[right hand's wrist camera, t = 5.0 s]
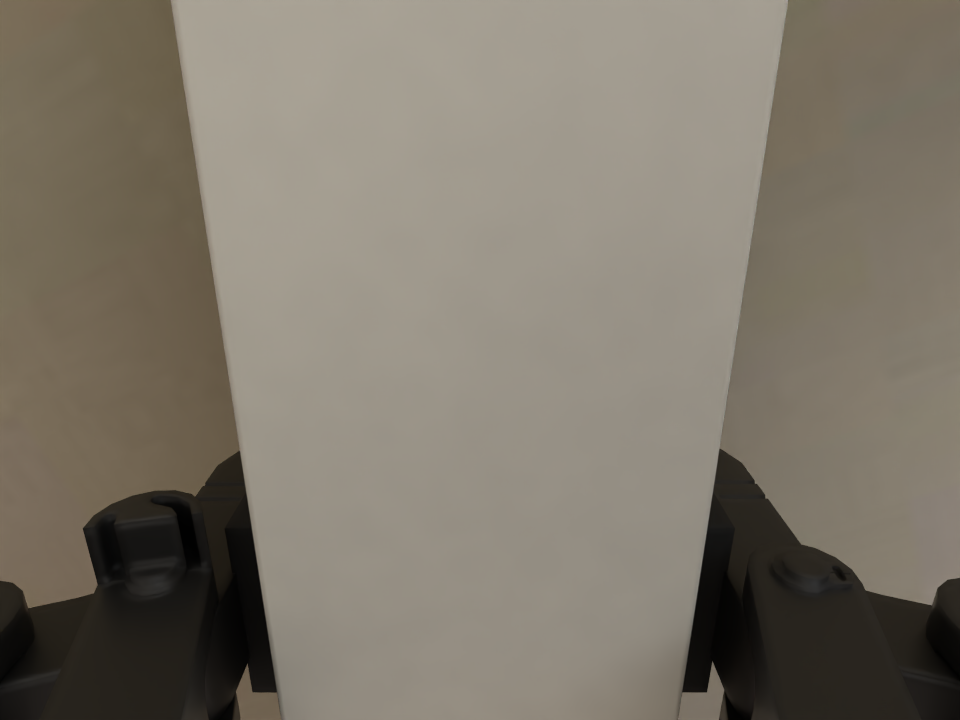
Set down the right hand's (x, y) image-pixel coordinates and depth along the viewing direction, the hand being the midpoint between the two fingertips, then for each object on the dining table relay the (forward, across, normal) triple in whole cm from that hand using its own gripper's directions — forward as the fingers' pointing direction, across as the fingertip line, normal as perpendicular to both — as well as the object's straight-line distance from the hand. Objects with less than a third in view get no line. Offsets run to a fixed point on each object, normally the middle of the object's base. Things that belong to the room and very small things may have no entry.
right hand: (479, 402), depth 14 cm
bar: (+1, 0, -22) cm, 22 cm away
